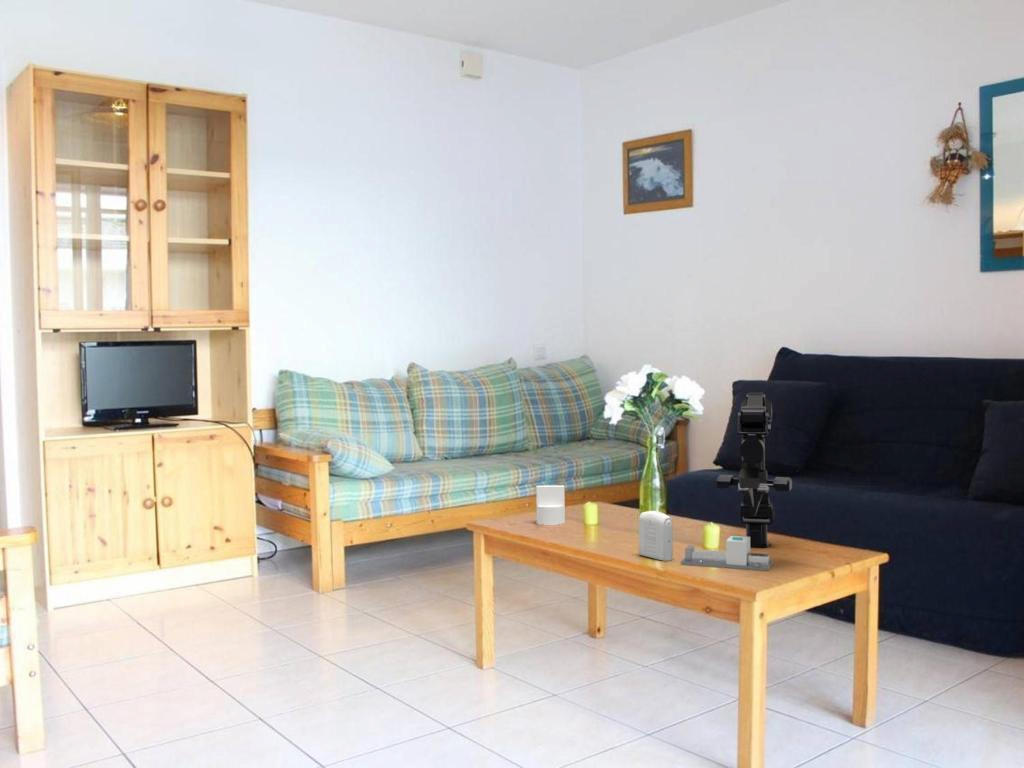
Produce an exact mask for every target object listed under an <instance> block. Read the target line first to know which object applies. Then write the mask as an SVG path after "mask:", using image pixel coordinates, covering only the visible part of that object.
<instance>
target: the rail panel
mask: <svg viewBox="0 0 1024 768" xmlns="http://www.w3.org/2000/svg"><path fill="white" fill-rule="evenodd" d="M681 564H682V566H697V567H707V566H712V567H711V568H721V567H727V568H726V569H734V568H737V570H748V569H750V570H752V571H761V572H762V571H763V570H764V572H769V570H770V569H771V567H772V566H771V565H773V560H770V554H767V553H755V552H750V553H748V554H747V565H746V566H743V565H729V564H726V550H712V549H711V550H710V549H695V545H690V544H688V545H687V546H686V547H685V548H684V558H682V559H681V561H680V565H681ZM750 570H749V571H750Z"/></svg>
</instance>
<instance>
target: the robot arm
mask: <svg viewBox="0 0 1024 768" xmlns="http://www.w3.org/2000/svg"><path fill="white" fill-rule="evenodd" d="M771 422H773V404H772V402H771V401H770V400H769V399H768V398H766V394H765V393H763V392H749V393H746V398H745V399H743V401H742V402H741V405H740V411H738V412H737V427H736V428H737V429H736V431H737V436H742V438H741V443H740V444H741V445H740V447H739V453H740V455H741V468H740V471H739V474H738V478H737V477H736V478H735V475H734V474H720V475H719V476H717V477H716V478H715V488H716V489H728V488H729V487H731V486H737V487H738V489H737V492H738V493H741V494H742V495H743V496H742V500H743V501H742V502H740V524H741V525H744V524H745V526H746V528H745V532H746V533H745V536H746V537H750V548H751V547H754V548H755V547H756V548H768V547H769V545H770V544H771V542H770V541H769V540H768V525H769V526H772V525H775V507H773V503H772V502H770V496H769V495H768V493H769V491H770V488H773V489H774V490H775V491H776V492H790V491H791V490H792V489H793V480H792V478H791V477H789V476H788V477H787V476H785V477H784V476H782V477H781V476H775V478H774V479H769V476H768V470H767V469H766V468H765V467H766V462H765V461H766V447H765V446H766V445H765V444H766V439H765V436H766V437H767V436H769V433H771V432H772V431H771V428H772V427H771V426H772V423H771Z"/></svg>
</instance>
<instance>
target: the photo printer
mask: <svg viewBox="0 0 1024 768" xmlns="http://www.w3.org/2000/svg"><path fill="white" fill-rule="evenodd" d="M638 554H639V555H640V556H642V557H643V556H644V557H647V558H651V559H655V560H660V561H662V562H670V561H671V560H672V559H673V558H674V557H673V556H674V522H673V519H672V518H671V517H670V516H669V515H667V514H665V513H663V512H661V511H657V510H647V511H643V512H641V513H640V514H639V516H638Z"/></svg>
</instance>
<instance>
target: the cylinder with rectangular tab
mask: <svg viewBox="0 0 1024 768" xmlns="http://www.w3.org/2000/svg"><path fill="white" fill-rule="evenodd" d="M535 487H536V488H535V493H536V494H535V496H536V497H535V499H536V501H535V502H536V504H535V506H536V524H537V523H538V524H544V525H557V524H562V523H565V524H566V518H565V517H566V508H565V507H566V506H565V504H566V503H565V500H566V499H565V498H566V497H565V485H563V484H561V485H560V484H559V485H558V484H557V485H555V484H554V485H551V484H550V485H536V486H535Z"/></svg>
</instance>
